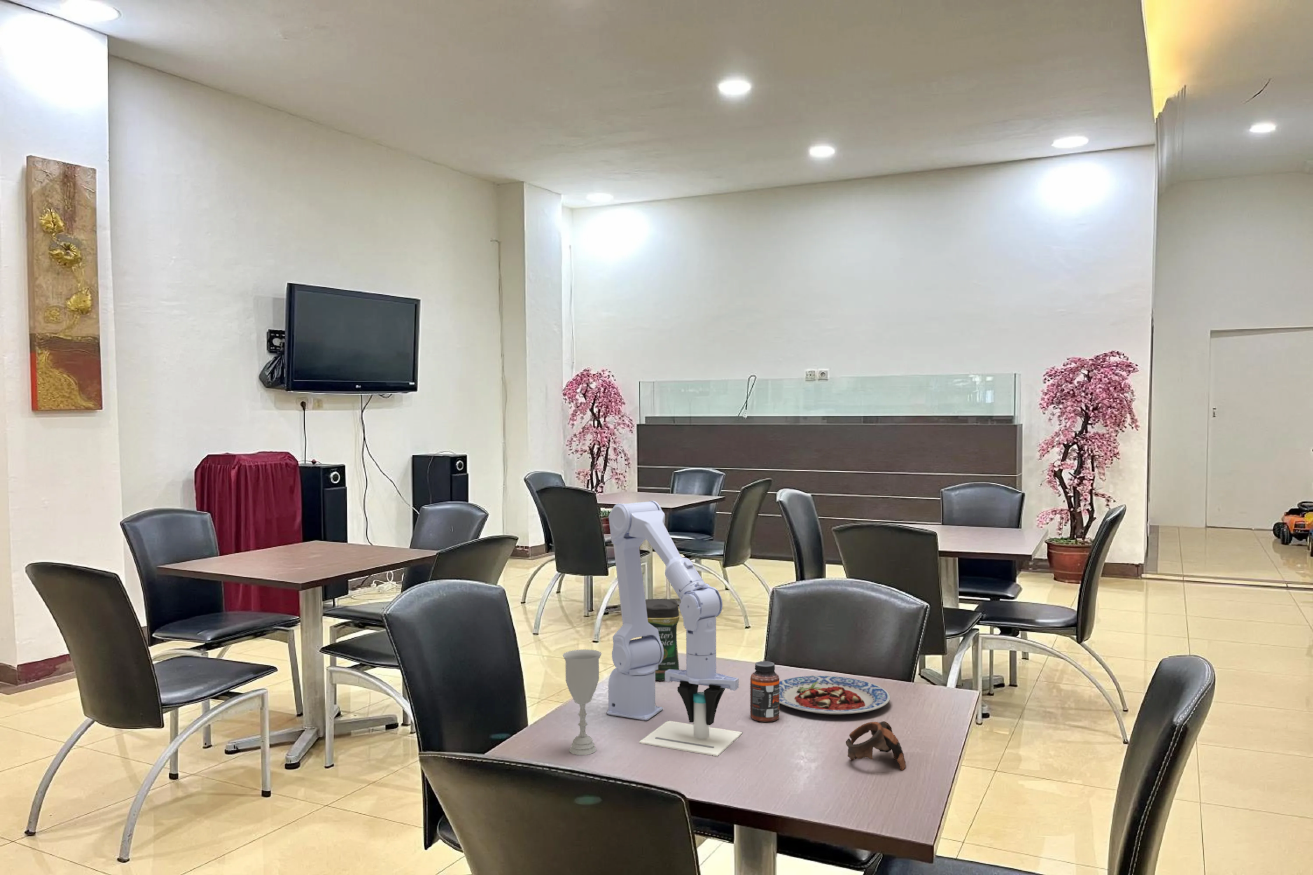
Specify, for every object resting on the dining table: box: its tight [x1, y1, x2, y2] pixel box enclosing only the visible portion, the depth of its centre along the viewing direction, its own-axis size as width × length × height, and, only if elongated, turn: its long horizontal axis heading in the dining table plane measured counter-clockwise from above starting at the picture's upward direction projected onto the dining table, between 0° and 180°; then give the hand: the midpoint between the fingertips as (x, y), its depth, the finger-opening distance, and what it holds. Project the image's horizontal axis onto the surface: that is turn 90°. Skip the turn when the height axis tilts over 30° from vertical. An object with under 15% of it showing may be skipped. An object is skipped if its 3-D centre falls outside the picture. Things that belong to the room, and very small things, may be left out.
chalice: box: [562, 648, 602, 756], centre depth 174 cm, size 7×7×18 cm
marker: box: [693, 691, 710, 739], centre depth 179 cm, size 3×3×8 cm
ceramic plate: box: [779, 675, 891, 716], centre depth 202 cm, size 26×26×3 cm
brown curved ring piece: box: [845, 720, 906, 771], centre depth 168 cm, size 12×10×8 cm
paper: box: [638, 720, 743, 757], centre depth 180 cm, size 16×13×1 cm
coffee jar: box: [641, 598, 680, 681], centre depth 220 cm, size 10×8×19 cm
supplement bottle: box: [749, 660, 780, 723], centre depth 191 cm, size 6×6×11 cm
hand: (701, 722), depth 179 cm, fingers closed on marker, 3 cm apart
